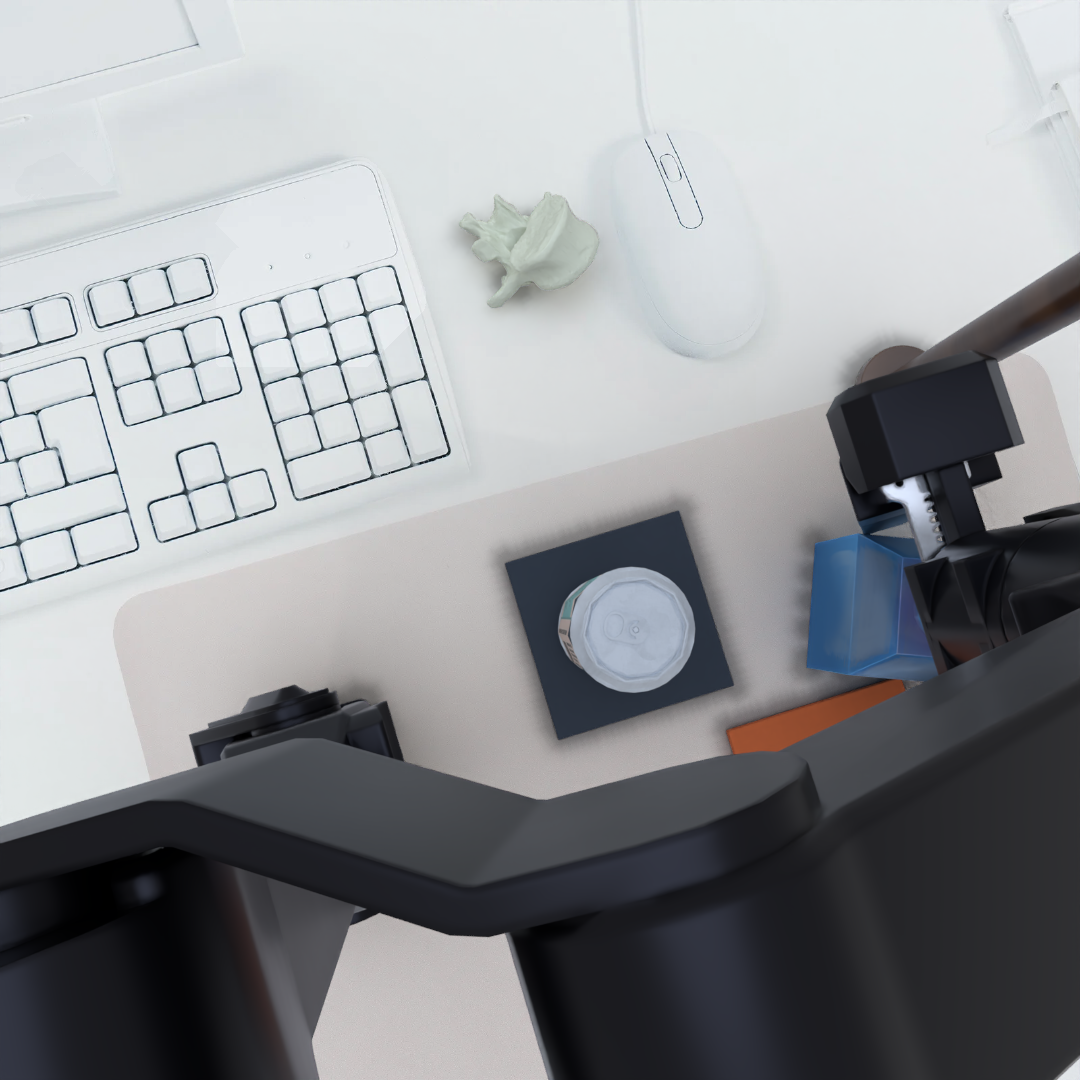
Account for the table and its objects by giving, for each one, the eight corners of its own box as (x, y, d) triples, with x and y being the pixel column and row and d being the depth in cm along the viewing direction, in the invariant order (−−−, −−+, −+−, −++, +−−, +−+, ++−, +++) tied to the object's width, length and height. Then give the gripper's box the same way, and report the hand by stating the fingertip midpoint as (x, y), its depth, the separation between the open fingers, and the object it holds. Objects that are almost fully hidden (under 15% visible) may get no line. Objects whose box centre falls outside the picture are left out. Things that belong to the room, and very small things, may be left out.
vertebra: (423, 273, 50) (472, 314, 53) (522, 287, 46) (570, 332, 48) (481, 159, 51) (526, 206, 54) (584, 162, 46) (627, 212, 49)
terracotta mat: (781, 909, 50) (784, 912, 49) (725, 730, 50) (727, 731, 50) (955, 852, 50) (959, 855, 50) (897, 675, 51) (901, 676, 50)
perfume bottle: (937, 554, 51) (1069, 535, 39) (929, 678, 51) (1060, 698, 39) (815, 543, 51) (909, 520, 39) (806, 667, 51) (899, 683, 39)
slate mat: (557, 739, 50) (558, 740, 50) (504, 563, 51) (504, 562, 50) (732, 684, 50) (734, 685, 50) (677, 511, 51) (679, 510, 51)
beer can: (644, 684, 50) (686, 706, 38) (548, 664, 50) (560, 680, 38) (663, 588, 50) (710, 579, 38) (568, 568, 50) (585, 553, 38)
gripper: (1442, 826, 31) (1132, 755, 46) (1236, 245, 32) (1001, 366, 48) (1096, 939, 30) (900, 828, 46) (900, 345, 32) (774, 434, 47)
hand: (900, 609), depth 47 cm, fingers closed on perfume bottle, 7 cm apart
